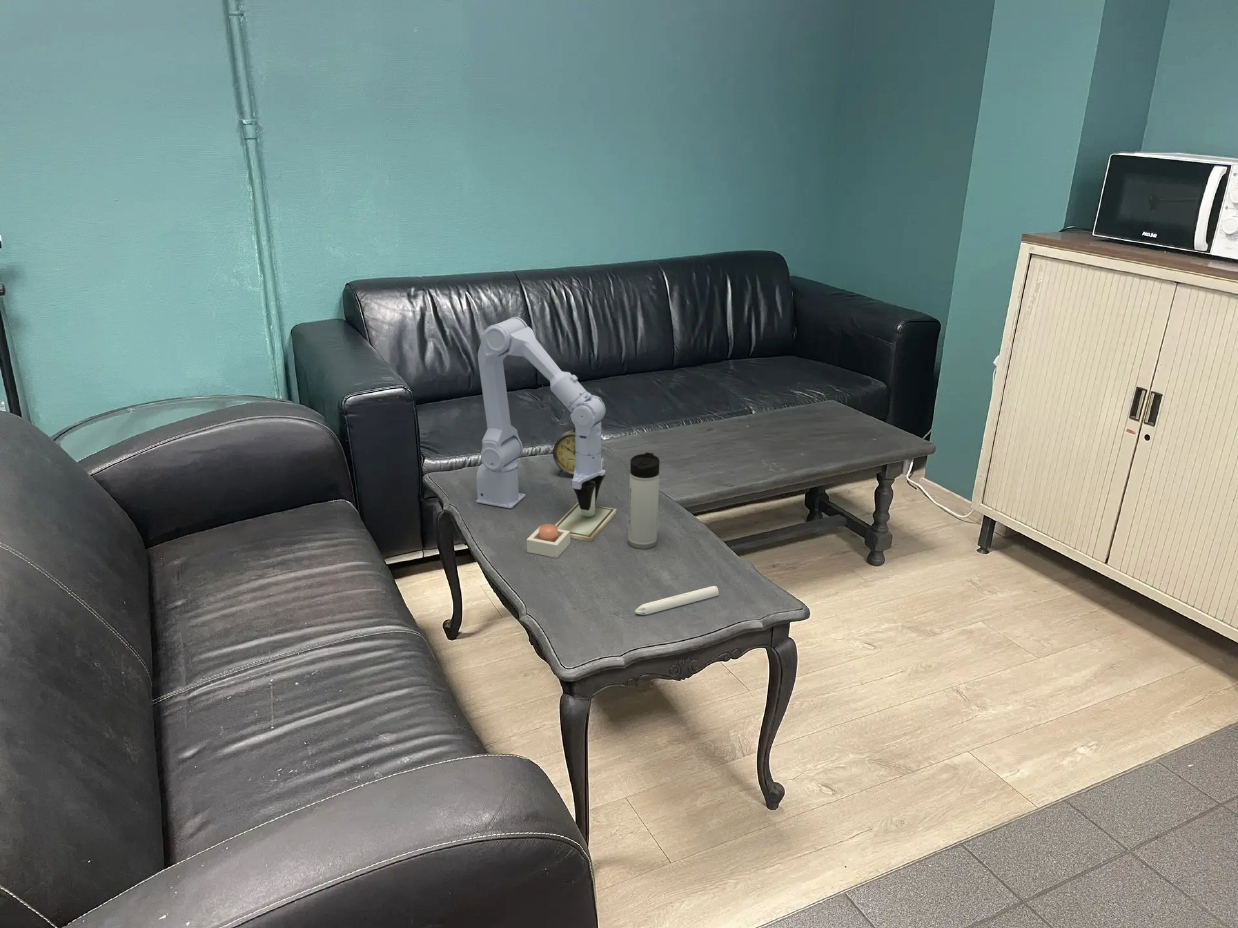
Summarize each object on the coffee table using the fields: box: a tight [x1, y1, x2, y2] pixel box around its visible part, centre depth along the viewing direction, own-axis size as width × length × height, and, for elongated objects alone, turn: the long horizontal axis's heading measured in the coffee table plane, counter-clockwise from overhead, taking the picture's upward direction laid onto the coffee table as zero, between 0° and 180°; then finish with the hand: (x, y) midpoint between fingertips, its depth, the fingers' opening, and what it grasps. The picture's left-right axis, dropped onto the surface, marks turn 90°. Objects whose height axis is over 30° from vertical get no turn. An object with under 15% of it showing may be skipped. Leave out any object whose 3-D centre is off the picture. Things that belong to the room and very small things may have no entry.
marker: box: [634, 585, 719, 616], centre depth 164 cm, size 18×2×2 cm, turn 117°
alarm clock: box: [552, 416, 576, 476], centre depth 218 cm, size 11×5×16 cm, turn 80°
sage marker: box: [581, 479, 596, 517], centre depth 196 cm, size 3×3×8 cm
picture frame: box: [555, 502, 618, 542], centre depth 195 cm, size 10×16×1 cm, turn 160°
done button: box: [538, 523, 558, 542], centre depth 183 cm, size 4×4×3 cm
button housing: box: [526, 527, 571, 559], centre depth 184 cm, size 7×7×3 cm
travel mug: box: [627, 452, 661, 550], centre depth 184 cm, size 6×7×20 cm
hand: (588, 505), depth 197 cm, fingers closed on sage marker, 3 cm apart
